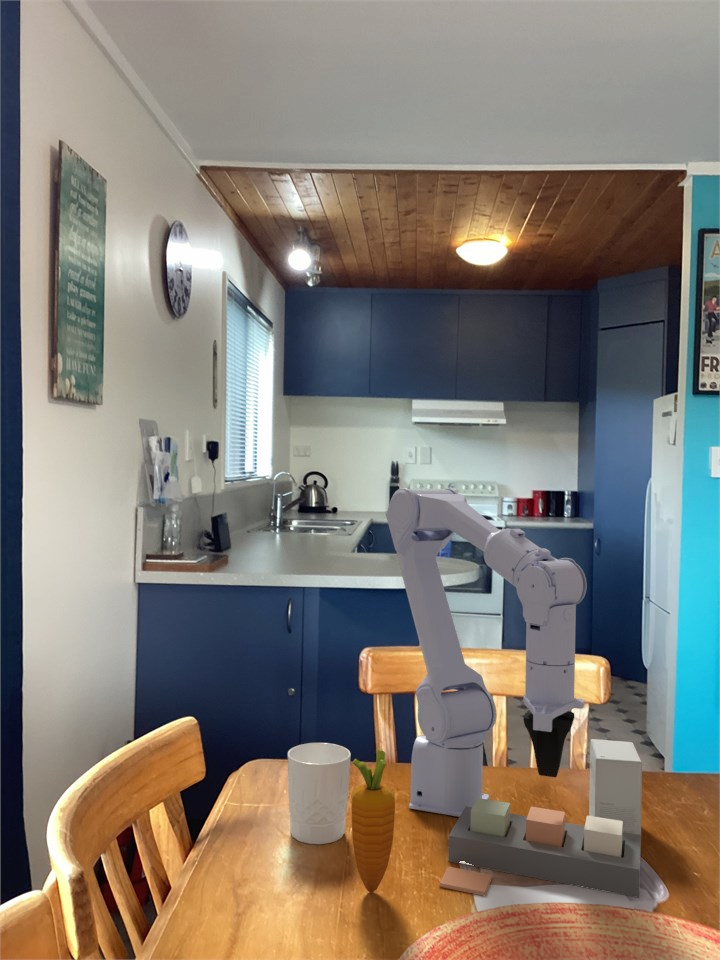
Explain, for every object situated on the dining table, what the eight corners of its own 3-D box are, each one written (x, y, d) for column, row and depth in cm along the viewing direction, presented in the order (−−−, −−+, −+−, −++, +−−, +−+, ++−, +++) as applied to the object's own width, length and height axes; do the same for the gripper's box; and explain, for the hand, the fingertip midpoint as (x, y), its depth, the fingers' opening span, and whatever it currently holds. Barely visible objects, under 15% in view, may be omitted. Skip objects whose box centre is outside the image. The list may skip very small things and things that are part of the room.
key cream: (583, 860, 90) (584, 829, 90) (586, 845, 94) (587, 815, 94) (620, 866, 88) (621, 835, 88) (622, 851, 92) (622, 821, 92)
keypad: (448, 861, 93) (448, 835, 93) (465, 829, 101) (465, 806, 101) (639, 897, 85) (639, 869, 85) (640, 860, 94) (640, 835, 94)
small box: (641, 848, 97) (643, 762, 97) (593, 843, 98) (595, 758, 98) (632, 820, 105) (634, 741, 105) (588, 816, 106) (590, 737, 106)
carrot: (359, 908, 82) (362, 763, 82) (341, 885, 87) (343, 748, 87) (402, 899, 84) (405, 757, 84) (382, 877, 89) (385, 743, 89)
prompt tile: (439, 886, 87) (439, 882, 87) (448, 869, 91) (448, 866, 91) (484, 895, 85) (485, 892, 85) (492, 878, 89) (492, 874, 89)
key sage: (470, 839, 94) (470, 810, 94) (477, 826, 98) (477, 797, 98) (503, 845, 93) (504, 816, 93) (509, 831, 97) (510, 803, 97)
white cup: (359, 827, 101) (361, 748, 101) (331, 852, 94) (333, 768, 94) (305, 814, 105) (306, 738, 105) (274, 838, 98) (275, 757, 98)
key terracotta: (525, 849, 92) (526, 819, 92) (530, 835, 96) (531, 806, 96) (560, 856, 91) (561, 825, 91) (564, 841, 94) (565, 811, 94)
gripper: (580, 677, 87) (578, 802, 87) (588, 651, 101) (586, 759, 101) (515, 671, 89) (513, 792, 89) (532, 646, 103) (530, 751, 103)
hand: (548, 774), depth 95 cm, fingers closed
